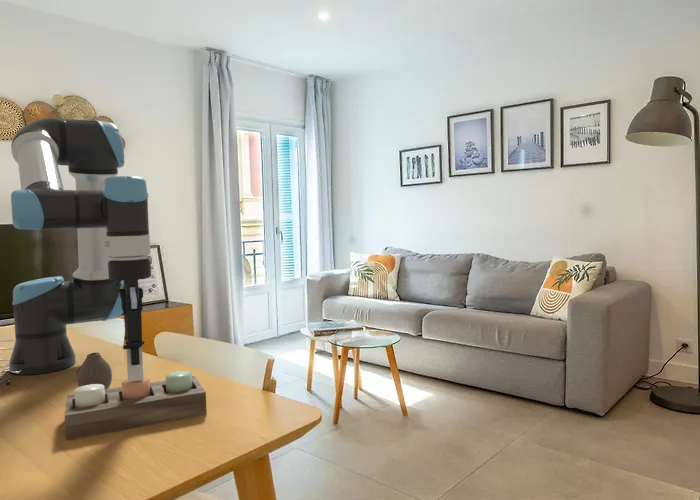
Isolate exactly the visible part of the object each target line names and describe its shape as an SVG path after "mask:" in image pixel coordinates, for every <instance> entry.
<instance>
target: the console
mask: <svg viewBox="0 0 700 500" xmlns="http://www.w3.org/2000/svg"><path fill="white" fill-rule="evenodd" d="M65 400H66V402H65V410H64V426H65V441H70V440H71V441H72V440H76V439H81V438H82V439H83V438H87V437H91V436H97V435H102V434H107V433H113V432H117V431H125V430H129V429H134V428H140V427H145V426H149V425H156V424H161V423H167V422H171V421H177V420H183V419H189V418H192V417H193V418H194V417H198V416H204V415H207V413H208V412H207V411H208V409H207V392H206V390H205V388H204V387H203V386H202V384H201V383H200V382H199V381H198V379H197V377H196V376H195V375H192V389H191V390H185V391H178V392H172V393H166V379H163V380H159V381H158V380H157V381H152V382H150V396H148V397H142V398H136V399H130V400H124V401H123V399H122V386H120V387H114V388H108V389H106V390H105V404H100V405H94V406H87V407H81V408H75V393H74V394H67V395H66V399H65Z"/></svg>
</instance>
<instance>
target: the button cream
mask: <svg viewBox="0 0 700 500" xmlns="http://www.w3.org/2000/svg"><path fill="white" fill-rule="evenodd" d="M73 393H74V394H75V408H81V407H87V406H94V405H100V404H105V389H104V385H102V384H90V385H85V386H81V387H79V386H78V387H76V388H75V389H74V392H73Z"/></svg>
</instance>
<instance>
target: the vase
mask: <svg viewBox="0 0 700 500" xmlns="http://www.w3.org/2000/svg"><path fill="white" fill-rule="evenodd" d="M76 377H77V378H76V379H77V380H76V381H77V385H78V387H81V386H85V385H90V384H102V385H104V389H105V390H106V389H110V386H111V384H112V380H113V373H112V368H111V365H110V364H109V363H108V361H106V360H105V359H104V358H103V357H102V355H101V354H100V352H89V353H88V354H87V355H86V358H85V359H84V361H83V362H82V363H81V365H80V367H79V368H78V371H77V376H76Z"/></svg>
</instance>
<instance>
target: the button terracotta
mask: <svg viewBox="0 0 700 500" xmlns="http://www.w3.org/2000/svg"><path fill="white" fill-rule="evenodd" d="M143 379H144V380H141V381H134V382H128V378H127V379H126V380H125V379H124V380H122V382H121V387H122V399H123V401H124V400H130V399H136V398H142V397H148V396H150V383H151V382H150V379H151V378H148V377H144V376H143Z"/></svg>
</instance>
